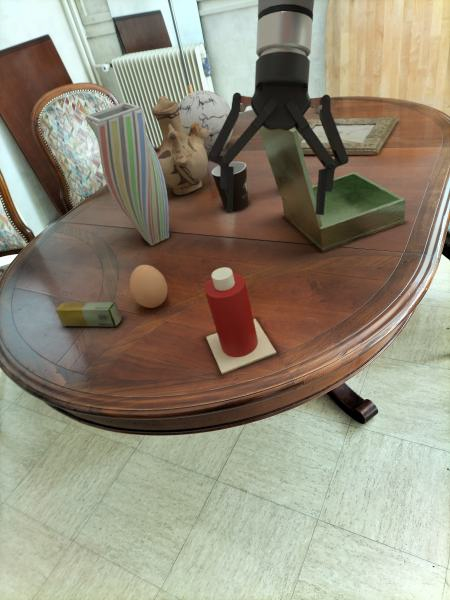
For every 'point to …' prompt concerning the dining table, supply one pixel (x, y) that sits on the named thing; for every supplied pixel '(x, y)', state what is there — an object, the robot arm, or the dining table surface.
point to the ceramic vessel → (180, 149)
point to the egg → (148, 286)
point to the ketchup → (231, 312)
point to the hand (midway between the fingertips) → (274, 213)
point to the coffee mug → (234, 186)
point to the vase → (132, 169)
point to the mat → (232, 363)
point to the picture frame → (354, 134)
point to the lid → (290, 170)
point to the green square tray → (349, 212)
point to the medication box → (89, 314)
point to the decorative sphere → (204, 114)
